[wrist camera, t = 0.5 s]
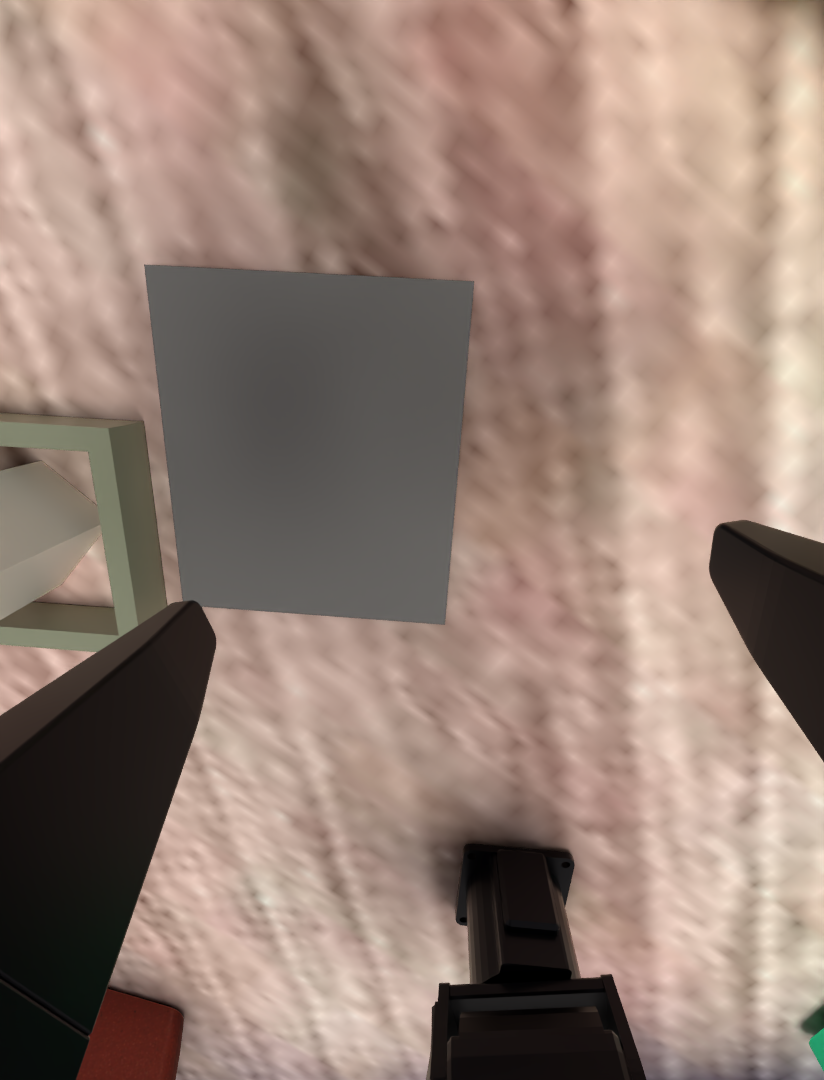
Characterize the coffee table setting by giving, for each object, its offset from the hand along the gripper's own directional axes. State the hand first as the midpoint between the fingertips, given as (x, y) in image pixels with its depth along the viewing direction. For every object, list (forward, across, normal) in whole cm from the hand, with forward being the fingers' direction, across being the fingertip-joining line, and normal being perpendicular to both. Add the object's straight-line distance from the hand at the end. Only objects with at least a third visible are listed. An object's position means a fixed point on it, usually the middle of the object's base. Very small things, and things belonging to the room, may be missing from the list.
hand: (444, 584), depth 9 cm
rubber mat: (+14, +6, +2) cm, 15 cm away
